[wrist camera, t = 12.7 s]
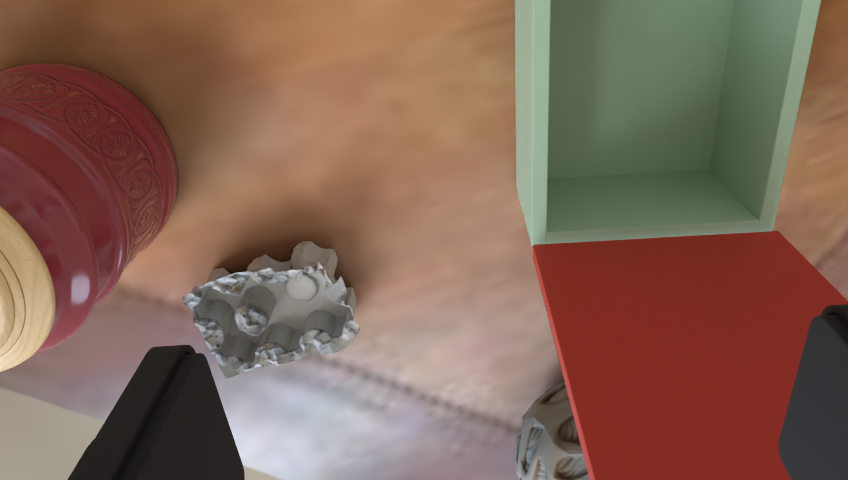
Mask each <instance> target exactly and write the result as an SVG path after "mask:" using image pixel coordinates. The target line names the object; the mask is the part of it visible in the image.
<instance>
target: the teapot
mask: <svg viewBox="0 0 848 480" xmlns="http://www.w3.org/2000/svg"><path fill="white" fill-rule="evenodd" d="M522 419H523V423H522V434H521V435H520V436H518V437H517V441H516V449H515V462H516V472H517V477H518V480H590V479H589V475H588V471H587V467H586V463H585V459H584V455H583V452H582V448H581V444H580V440H579V436H578V432H577V428H576V424H575V420H574V416H573V412H572V409H571V405H570V401H569V397H568V393H567V389H566V385H565V382H562V383H560V384H558V385H557V386H555V387H553V388H552V389H550V390H548V391H547V392H546V393H545V394H544V395H543V396H541V397H540V398H539V399H537V400H536V401H535V402H534V403H533V404H532V406H531V407H530V408H529V409H528V411H527V412H526V413H525V415H524V416H523V417H522Z"/></svg>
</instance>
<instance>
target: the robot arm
mask: <svg viewBox="0 0 848 480" xmlns="http://www.w3.org/2000/svg"><path fill="white" fill-rule="evenodd" d="M778 447H779V454H780V458H781V461H782V463H783V465H784V467H785V469H786V471H787V472H788V474H789V476H790V477H791V479H792V480H848V304H841V305H830V306H827V307H826V308H825V309H824V310H823V311H822V314H821V315H820V316H815V317H814V318H813V319H812V321H811V323H810V326H809V330H808V334H807V337H806V341H805V345H804V349H803V352H802V356H801V360H800V363H799V367H798V371H797V375H796V378H795V382H794V386H793V389H792V393H791V397H790V401H789V404H788V408H787V412H786V415H785V419H784V423H783V426H782V430H781V434H780V438H779V443H778ZM68 480H244V469H243V465H242V462H241V459H240V456H239V453H238V450H237V447H236V444H235V441H234V438H233V435H232V432H231V429H230V426H229V424H228V421H227V418H226V415H225V412H224V409H223V406H222V403H221V400H220V397H219V394H218V391H217V388H216V385H215V382H214V379H213V376H212V373H211V370H210V367H209V364H208V361H207V359H206V357H205V356H204V355H203V354H201V353H197V354H196V352H195V350H194V349H193V348H192V347H191V346H190V345H178V346H162V347H153V348H151V349H150V350H149V351H148V352H147V354H146V355H145V357H144V359H143V360H142V362H141V363H140V365H139V367H138V368H137V370H136V372H135V373H134V375H133V377H132V378H131V380H130V382H129V383H128V385H127V387H126V388H125V390H124V392H123V393H122V395H121V396H120V398H119V400H118V401H117V403H116V405H115V406H114V408H113V410H112V411H111V413H110V415H109V416H108V418H107V420H106V421H105V423H104V425H103V426H102V428H101V429H100V431H99V433H98V434H97V436H96V438H95V439H94V440H93V441H92V442H91V444H90V445H89V446H88V447H87V449H86V450H85V452H84V454H83V455H82V457H81V459H80V460H79V462H78V463H77V465H76V467H75V469H74V470H73V472H72V474H71V475H70V477H69V478H68Z"/></svg>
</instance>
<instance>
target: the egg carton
mask: <svg viewBox="0 0 848 480" xmlns="http://www.w3.org/2000/svg"><path fill="white" fill-rule="evenodd" d="M337 262H338V258H337V256H336V253H335V251H334V249H323V248H321V247H318V246H317V245H315V244H314V243H313V242H311V241H304V242H301V243H299V244H297V246H296V247H295V248H293V254H292V256H291V260H289V261H287V262H280V261H275V260H274V259H272V258H270V257H269V256H267V255H266V254H264V255H263V256H261V257H259V258H255V259H253V262H252V263H251V264H249V265H248V268H247V270H246V272H238V273H233V274H230V273H229V272H228V271H226V270H225V269H224V268H219V269H215V270H213V271H212V272H211V273H210V275H209V279H208V281H207V282H206V283H205V284H204V285H202V286H198V285H197V286H195V287H194V288H193V290H192V291H191V293H189V294H187V295H186V296H183V302H184V304H185V305H188V306H189V307H190V309H191V311H192V313H193V316H194V317H193V320H194V324H195V326H197V327H199V329H200V330H201V333H202V336H203V339H204V340H205V341H206V343H207V345H208V348H209V350H210V353H211V354H214V355H216V357H217V361H218V364H219V366H220V369H221V370H222V372H223V374H224V376H225V378H229V377H232V376H235V375H238V374H241V373H244V372H247V371H251V370H252V369H254V368H256V367H259V366H262V367H267V366H268V365H270V364H276V365H278V366H280V365H282V364H285V363H287V362H290V361H293V360H298V359H303V358H306V357H309V356H311V355H318V354H327V353H335V352H337V351H340V350H342V349H343V348H345V347H346V346H347V345H348V344H349V343H350V342H351V340H352V339H353V338H354V337H355V336H356V335H357V334H358V332H359V326H358V324H357V323H356V322H354V321H353V317H354V311H355V307H356V302H357V299H356V296H355V293H354V289H353V288H352V287H349V288H346V287H345V285H344V282H343V279H342V277H341V276H340V277H339V278H338V279H336V280H335V277H334V274H335V269H336V266H337Z"/></svg>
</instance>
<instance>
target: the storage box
mask: <svg viewBox="0 0 848 480" xmlns="http://www.w3.org/2000/svg"><path fill="white" fill-rule="evenodd" d="M820 4H821V0H515V95H516V188H517V192H518V196H519V200H520V204H521V208H522V211H523V215H524V219H525V223H526V227H527V230H528V234H529V238H530V242H531V245H532V246H533V245H536V244H554V243H572V242H589V241H607V240H625V239H643V238H661V237H678V236H696V235H714V234H732V233H749V232H767V231H773V226H774V222H775V217H776V212H777V207H778V203H779V198H780V193H781V188H782V184H783V179H784V174H785V170H786V165H787V160H788V155H789V151H790V146H791V141H792V136H793V132H794V127H795V122H796V117H797V113H798V108H799V103H800V99H801V94H802V89H803V84H804V80H805V75H806V70H807V65H808V61H809V56H810V51H811V46H812V42H813V37H814V32H815V28H816V23H817V18H818V13H819V9H820Z"/></svg>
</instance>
